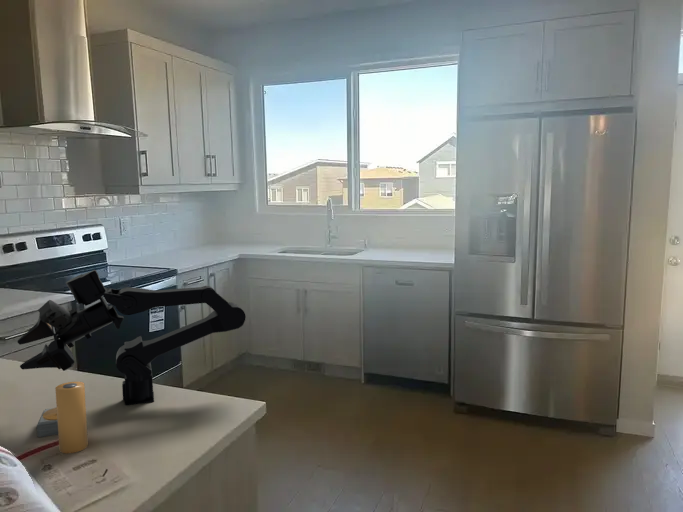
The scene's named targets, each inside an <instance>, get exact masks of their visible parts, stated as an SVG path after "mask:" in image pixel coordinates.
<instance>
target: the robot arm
mask: <svg viewBox="0 0 683 512" xmlns="http://www.w3.org/2000/svg"><path fill="white" fill-rule="evenodd" d="M65 284H66V286H67V287H68V289H69V291H70V293H71V294H72V297H74V299H75V301H76V302H77V304H78V305H81V304H82V305H84V306H85V307H86V306H88V307H86V308H83V309H82V310H79V311H78V309H77V308H76V309H75V308H73V309H70V310H67V309H66V308H65V307H64V306H62V305H61V304H58V303H56V302H55V301H54V300H51V299H49V300H47V301H46V302H45V303H44V304H43V305H42V306H41V307H39V308H38V310H37V311H38V312H39V314H38V320H37V322H36V323H35V325H33V326H32V327H31V328H30V329H29V330H28V331H26V332H25V333H24V334H23V335H22V336H21V337H20V338H19V339H18V340H17V341H16V342H17V344H19V345H24V344H29V343H32V342H36V341H39V340H43V339H47V338H50V337H53V340H52V341H51V342H50V343H49V344H44V347H43V349H42V351H41V352H40V353H37V354H36V355H35V356H32V357H31V358H29V359H27V360H25V361H24V362H22V363H21V364H20V365H19V368H20V369H22V370H23V371H24V370H33V369H45V368H46V369H47V368H48V369H50V368H51V369H52V368H53V369H54V368H57V369H58V370H62V371H63V372H66V371H67V370H69V369H71V368H73V367H74V364H75V357H74V354H73V351H72V350H71V349H72V348H73V347H75V343H74V342H76V341H79V340H81V339H82V338H84V337H85V338H86V340H89V339H90V338H92V336H93V335H92V333H94V332H96V331H99V330H101V329H102V328H105V327H106V326H108V325H110V324H113V325H114V326H115V328H116V329H117V330H119V329H121V324H122V322H123V321H124V319H125V318H124V315H125V316H131V315H132V316H133V315H135V314H139V313H143V312H146V311H149V310H152V309H155V308H162V307H163V308H164V307H173V306H185V305H197V304H198V305H199V304H206V305H207V306H208V307H210V309H212V310H213V311H212V312H210V313H209V314H208V315H207V316H206V317H203V318H201V319H198V320H196V321H194V322H191V323H190V324H186V325H184V326H182V327H180V328H177V329H174V330H173V331H169V332H167V333H165V334H162V335H161V336H157V337H155V338H152V339H149V340H143V338H142V335H140V336H137V337H136V338H134V339H132V340H130V341H124V345H121V346H120V347H119V348H118V350H117V352H116V356H115V367H116V369H117V370H118V371H119V372H120V373H122V374H124V380H123V381H122V383H121V384H122V386H121V387H122V401H123V402H124V406H134V405H141V404H148V403H154V402H155V394H154V382H153V371H152V364H151V363H152V361H154V360H155V359H156V358H157V357H160V356H162V355H165V354H167V353H169V352H171V351H173V350H176V349H179V348H180V347H183V346H186V345H189V344H190V343H193V342H194V341H197V340H199V339H202V338H204V337H207V336H209V335H211V334H216V333H217V334H218V333H225V332H230V331H234V330H238V329H239V328H242V327H243V326H244V324H245V321H246V313H245V311H244V310H243V309H242V308H241V307H240V306H239V305H238V304H237V303H234V302H231V301H230V302H228V301H227V300H226V299H225V298H223V297H222V296H221V295H220V294H219V293H217V291H216V290H215V289H214V287H212V286H210V285H204V286H196V287H186V288H185V287H184V288H182V287H181V288H170V289H158V290H155V289H147V288H141V287H131V286H126V287H123V288H121V289H117V288H116V289H115V288H110V287H105V286H104V283H103V282H102V280H101V279H100V276H99V273H98V272H97V270H96V269H93V270H91V271H87V272H86V273H81V274H79V275H76V276H75V277H73V278H70V279H69V280H67V281H65ZM97 301H98V302H97ZM95 302H96V303H95ZM108 304H109V305H108ZM117 311H118V312H119V313H120V314H122V315H119V314H118V312H117Z"/></svg>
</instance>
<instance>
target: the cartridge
mask: <svg viewBox="0 0 683 512" xmlns="http://www.w3.org/2000/svg"><path fill="white" fill-rule="evenodd" d="M85 388H86V387H85V383H84V382H82V381H68V382H64V383H61V384H59V385H56V386H55V388H54V389H55V401H56V402H55V403H56V407H57V421H58V434H57V435H58V448H59V450H60V451H61V452H62V453H61V452H60V451H59V452H60V453H61V454H67V455H68V454H76V453H79V452H81V451H83V450H85V449H86V448H88V446H89V441H88V424H87V423H88V422H87V408H86V407H87V405H86V391H85Z"/></svg>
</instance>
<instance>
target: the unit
mask: <svg viewBox="0 0 683 512" xmlns="http://www.w3.org/2000/svg"><path fill="white" fill-rule="evenodd" d="M36 431H37V433H36V434H37V438H42V437H48V436H56V435H58V421H57V406H56V407H52V408H51V407H50V408H45V409H44V410H43V411H42V414H41V415H40V417H39V420H38V422H37V424H36Z"/></svg>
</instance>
